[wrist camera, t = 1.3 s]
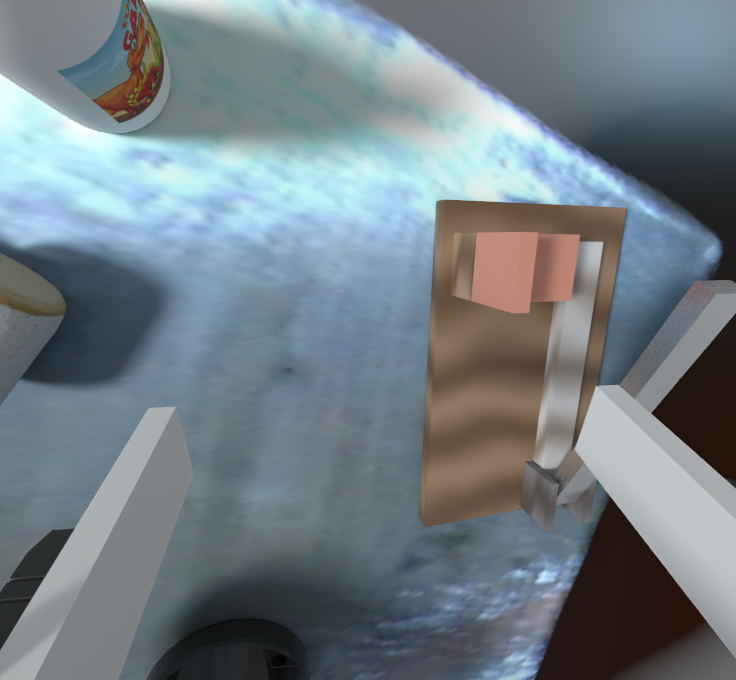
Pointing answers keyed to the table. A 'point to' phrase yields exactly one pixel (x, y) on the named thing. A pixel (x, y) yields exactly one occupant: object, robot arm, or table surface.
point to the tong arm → (662, 364)
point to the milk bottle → (87, 59)
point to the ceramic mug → (24, 319)
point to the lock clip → (523, 269)
